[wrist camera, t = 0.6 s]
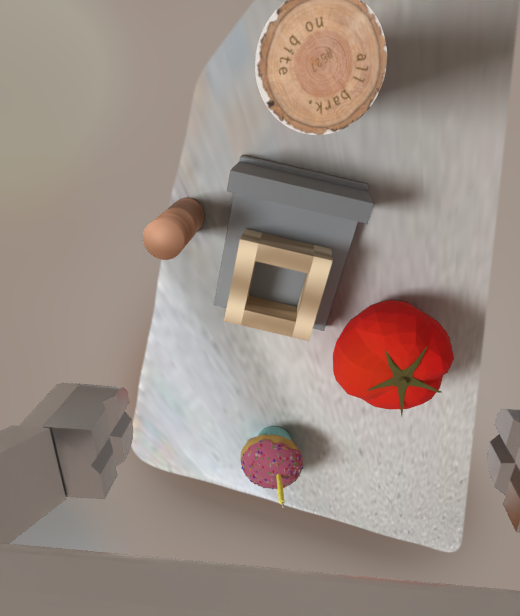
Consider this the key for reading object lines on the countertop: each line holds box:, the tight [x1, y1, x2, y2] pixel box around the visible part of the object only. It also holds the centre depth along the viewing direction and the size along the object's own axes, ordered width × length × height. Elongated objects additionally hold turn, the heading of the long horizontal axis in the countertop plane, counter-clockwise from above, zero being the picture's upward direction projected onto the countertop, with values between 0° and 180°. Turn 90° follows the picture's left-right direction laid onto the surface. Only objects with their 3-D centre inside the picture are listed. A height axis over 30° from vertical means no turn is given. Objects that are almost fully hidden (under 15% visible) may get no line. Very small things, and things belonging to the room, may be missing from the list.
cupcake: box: [241, 427, 303, 508], centre depth 61 cm, size 9×8×12 cm
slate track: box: [214, 155, 374, 331], centre depth 51 cm, size 18×14×8 cm
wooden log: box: [255, 0, 387, 135], centre depth 35 cm, size 7×7×25 cm
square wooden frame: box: [224, 229, 333, 341], centre depth 52 cm, size 10×10×4 cm
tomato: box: [333, 300, 454, 415], centre depth 52 cm, size 12×13×12 cm
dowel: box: [143, 198, 205, 260], centre depth 49 cm, size 4×4×10 cm
